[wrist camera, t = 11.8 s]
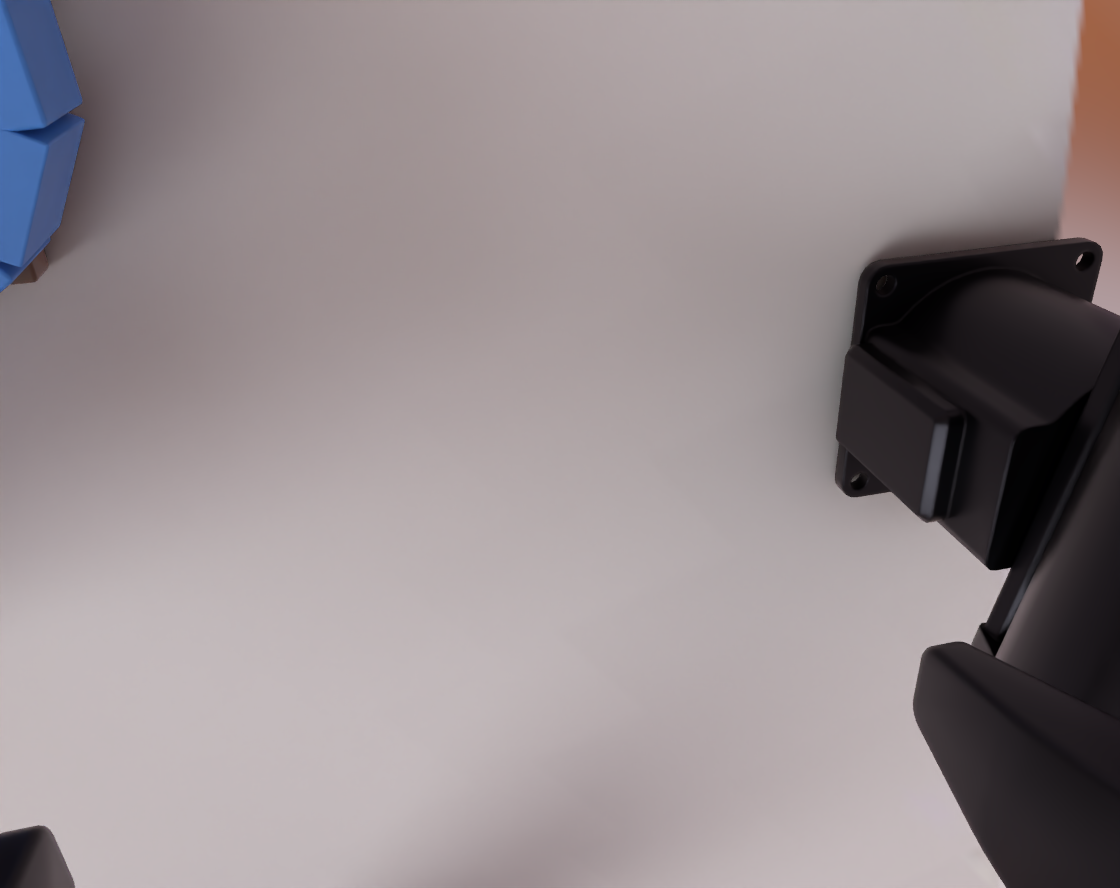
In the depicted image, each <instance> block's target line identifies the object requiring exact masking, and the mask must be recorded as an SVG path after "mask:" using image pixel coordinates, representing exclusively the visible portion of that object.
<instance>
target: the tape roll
mask: <svg viewBox="0 0 1120 888" xmlns="http://www.w3.org/2000/svg"><path fill="white" fill-rule="evenodd" d="M80 104H82V97H81V94H80V90H79V87H78V84H77V81H76V78H75V75H74V72H73V69H72V66H71V63H70V60H69V57H68V54H67V50H66V47H65V44H64V41H63V38H62V35H61V32H60V29H59V26H58V23H57V20H56V17H55V13H54V10H53V7H52V4H51V1H50V0H0V292H2V291H3V290H4V289H5V288H6V287H8V286H9V285H10V284H11V283H12V282H13V281H14V280H15V279H16V278H17V277H18V276H19V275H20V274H21V272H22V271H23V270H24V269H25V268H26V267H27V266H28V265H29V264H30V263H31V262H32V261H33V259H34V258H35V257H36V256H37V255H38V254H39V253H40V252H41V251H42V250H43V249H44V248H45V246H46V245H47V244H48V243H49V242H50V240H51V238H50V236H51V235H52V234H53V233H54V232H55V231H56V230H57V229H58V228H59V226H60V224H61V219H62V215H63V211H64V207H65V203H66V198H67V194H68V190H69V186H70V182H71V177H72V173H73V169H74V165H75V161H76V157H77V152H78V148H79V144H80V140H81V136H82V131H83V127H84V123H85V120H84V119H83V118H81V117H78V116H76V115H73V114H70V113H68V112H70V111H71V110H73V109H74V108H76V107H77V106H79V105H80Z"/></svg>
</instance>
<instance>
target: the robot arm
mask: <svg viewBox="0 0 1120 888" xmlns="http://www.w3.org/2000/svg"><path fill="white" fill-rule="evenodd" d="M1082 253H1083V256H1082V258H1081V261H1080V262H1079V263H1078V264H1077V265H1076V261H1077V259H1078V257H1079V256H1080V255H1081V254H1082ZM1102 256H1103V251H1102V249H1101V246H1100V245H1098V244H1097V243H1096V242H1093V241H1091V240H1088V239H1085V238H1070V239H1061V240H1052V241H1044V242H1035V243H1026V244H1018V245H1009V246H1000V247H991V248H983V249H974V250H965V251H956V252H948V253H939V254H930V255H922V256H913V257H904V258H895V259H887V260H879V261H876V262H873V263H871V264H870V265H869V266H867V267H866V268H865V270H864V271H863V272H862V274H861V276H860V279H859V283H858V291H857V300H856V308H855V316H854V325H853V333H852V341H851V347H850V349H849V351H848V352H847V354H846V357H845V365H844V373H843V382H842V390H841V399H840V407H839V416H838V424H837V432H836V439H837V441H838V442H839V449H838V457H837V465H836V474H835V481H836V484H837V485H838V487H839V488H840V489H841V490H842V491H843V492H844V493H845V494H846V495H848V496H850V497H861V496H867V495H873V494H879V493H885V492H892V493H893V494H895V495H896V496H897V497H898V498H899V499H900V500H901V501H902V502H903V503H904V504H905V505H906V506H907V507H908V508H909V509H910V510H912V511H913V512H914V513H915V514H916V515H917V516H918V517H919V518H920V519H921V520H922V521H924V522H926V523H928V522H934V521H937V522H938V523H939V524H941V525H942V526H943V527H944V528H945V529H946V530H947V531H948V532H949V533H950V534H951V535H953V536H954V537H955V538H956V539H957V540H958V541H959V542H960V543H961V544H962V545H963V546H964V547H966V548H967V549H968V550H969V551H970V552H971V553H972V554H973V555H974V556H975V557H976V558H977V559H979V560H980V561H981V562H982V563H983V564H984V565H985V566H986V567H987V568H988V569H989V570H1001V569H1006V568H1011V569H1010V572H1009V574H1008V576H1007V578H1006V581H1005V583H1004V585H1003V587H1002V589H1001V592H1000V594H999V596H998V598H997V600H996V603H995V605H994V607H993V609H992V611H991V614H990V616H989V618H988V620H987V622H986V623H981V625H980V626H979V628H978V630H977V633H976V635H975V637H974V639H973V642H972V645H969V644H967V643H964V642H951V643H946V644H941V645H936V646H931V647H929V648H927V649H926V650H925V652H924V653H923V654H922V658H921V662H920V667H919V673H918V678H917V683H916V688H915V693H914V699H913V711H914V716H915V719H916V722H917V724H918V726H919V728H920V730H921V732H922V734H923V736H924V738H925V740H926V742H927V744H928V746H929V748H930V750H931V752H932V754H933V756H934V758H935V760H936V762H937V764H938V765H939V767H940V769H941V771H942V773H943V775H944V777H945V779H946V781H947V783H948V785H949V787H950V789H951V791H952V793H953V795H954V797H955V799H956V801H957V803H958V804H959V806H960V808H961V810H962V812H963V814H964V816H965V818H966V820H967V822H968V824H969V826H970V828H971V830H972V832H973V833H974V835H975V837H976V839H977V841H978V843H979V844H980V846H981V848H982V850H983V851H984V853H985V855H986V856H987V858H988V860H989V861H990V863H991V864H992V866H993V868H994V869H995V871H996V872H997V874H998V876H999V877H1000V879H1001V880H1002V882H1003V883H1004V885H1005V886H1006V888H1120V316H1119V315H1116V314H1114V313H1112V312H1110V311H1108V310H1106V309H1103V308H1101V307H1099V306H1096V305H1094V304H1092V299H1093V294H1094V290H1095V286H1096V282H1097V278H1098V274H1099V270H1100V266H1101V262H1102ZM886 275H887V280H886V283H885V285H884V286H883V287H882V288H881V289H878V290H876V285H877V283H878V281H879V280H880V279H881V278H882V277H883V276H886ZM859 473H860V476H859V477H858V478H857V479H856V480H855V481H853V482H851V480H852V478H853V477H854V476H855V475H857V474H859ZM0 888H75V885H74V881H73V878H72V876H71V873H70V871H69V869H68V867H67V864H66V862H65V860H64V858H63V855H62V853H61V851H60V849H59V846H58V844H57V842H56V840H55V837H54V835H53V834H52V832H51V831H50V829H48V828H47V827H45V826H39V825H38V826H33V827H28V828H23V829H18V830H13V831H8V832H4V833H1V834H0Z"/></svg>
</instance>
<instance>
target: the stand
mask: <svg viewBox="0 0 1120 888" xmlns="http://www.w3.org/2000/svg"><path fill="white" fill-rule="evenodd" d="M47 269H48V261H47V258H46V255H45V252H44V249H43V250H42V251H41V252H40V253H39V254H38V255H37V256H36V257H35V258H34V259H33V261H32V262H31V263H30V264H29V265H28V266H27V267H26V268H25V269H24V270H23V271H22V272H21V274H20V275H19V276H18V277H17V278H16V279H15V280H14V281H13V282H12V283H11V284H10V285H12V284H22V283H32V282H35V281H37V280H38V279H39V278H40V277H41V276H42V274H43V273H44V272H45V271H46V270H47Z"/></svg>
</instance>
